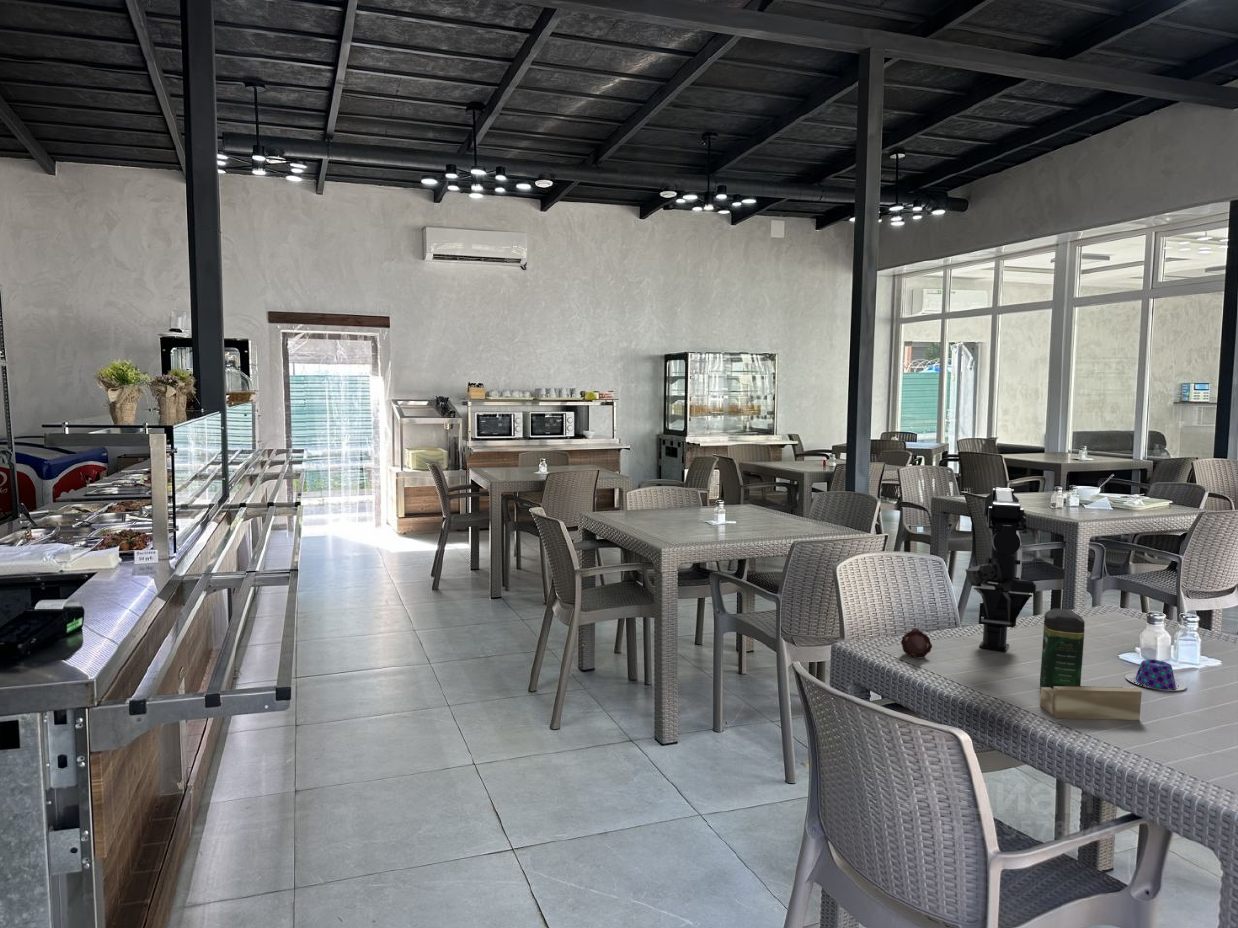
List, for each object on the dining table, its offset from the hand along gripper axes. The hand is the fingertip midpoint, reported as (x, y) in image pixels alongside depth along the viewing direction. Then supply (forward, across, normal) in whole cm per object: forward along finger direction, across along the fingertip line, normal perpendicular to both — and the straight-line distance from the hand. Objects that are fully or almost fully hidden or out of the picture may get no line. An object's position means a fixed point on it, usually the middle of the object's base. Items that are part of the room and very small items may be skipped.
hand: (1000, 620), depth 199 cm
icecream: (+12, -15, -13) cm, 23 cm away
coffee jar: (+14, +12, +8) cm, 20 cm away
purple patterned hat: (+12, +7, +35) cm, 37 cm away
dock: (+16, +23, +7) cm, 29 cm away
